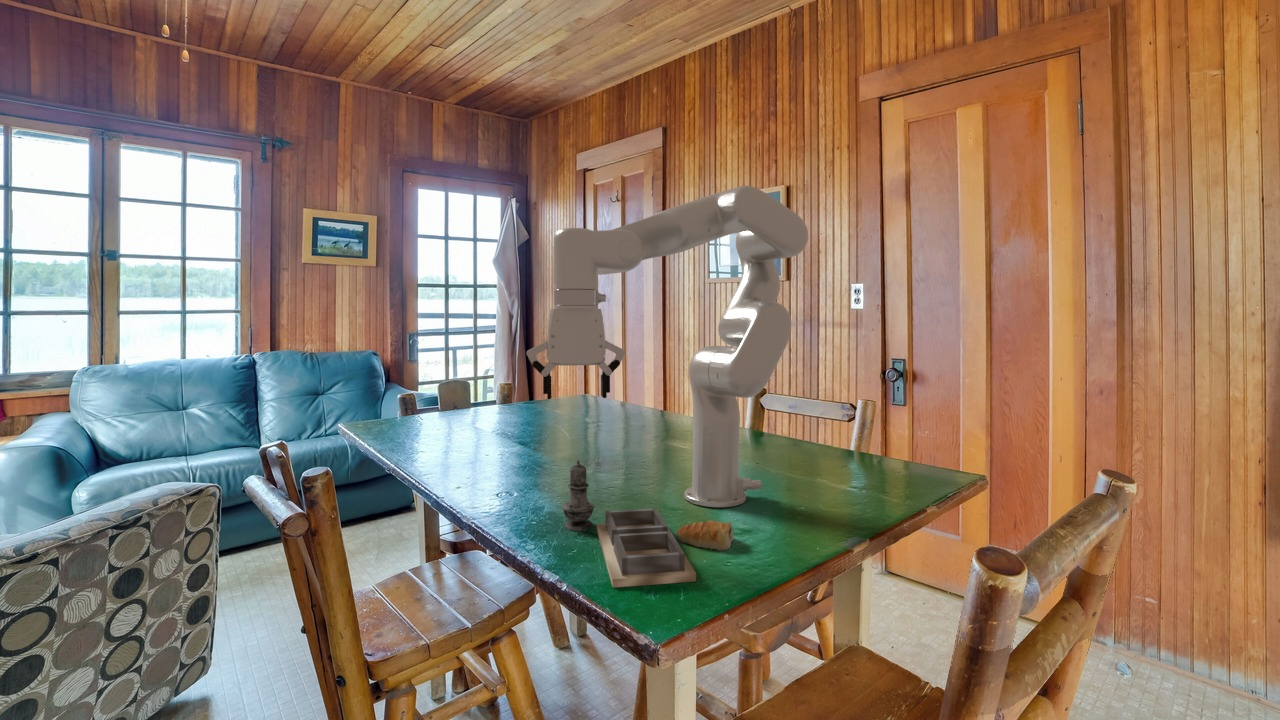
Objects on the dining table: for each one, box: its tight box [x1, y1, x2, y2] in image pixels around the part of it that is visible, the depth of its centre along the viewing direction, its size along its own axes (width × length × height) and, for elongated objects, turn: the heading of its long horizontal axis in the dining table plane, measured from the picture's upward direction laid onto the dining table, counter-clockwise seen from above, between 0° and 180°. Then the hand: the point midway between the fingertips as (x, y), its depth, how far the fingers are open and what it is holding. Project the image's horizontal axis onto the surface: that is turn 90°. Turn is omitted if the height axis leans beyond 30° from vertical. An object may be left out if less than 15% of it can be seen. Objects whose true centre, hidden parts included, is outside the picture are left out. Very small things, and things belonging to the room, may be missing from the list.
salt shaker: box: [561, 460, 595, 532], centre depth 105 cm, size 6×6×12 cm
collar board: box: [596, 508, 697, 589], centre depth 94 cm, size 12×22×4 cm, turn 10°
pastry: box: [676, 520, 735, 551], centre depth 99 cm, size 9×7×4 cm
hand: (576, 397), depth 104 cm, fingers open, 9 cm apart
